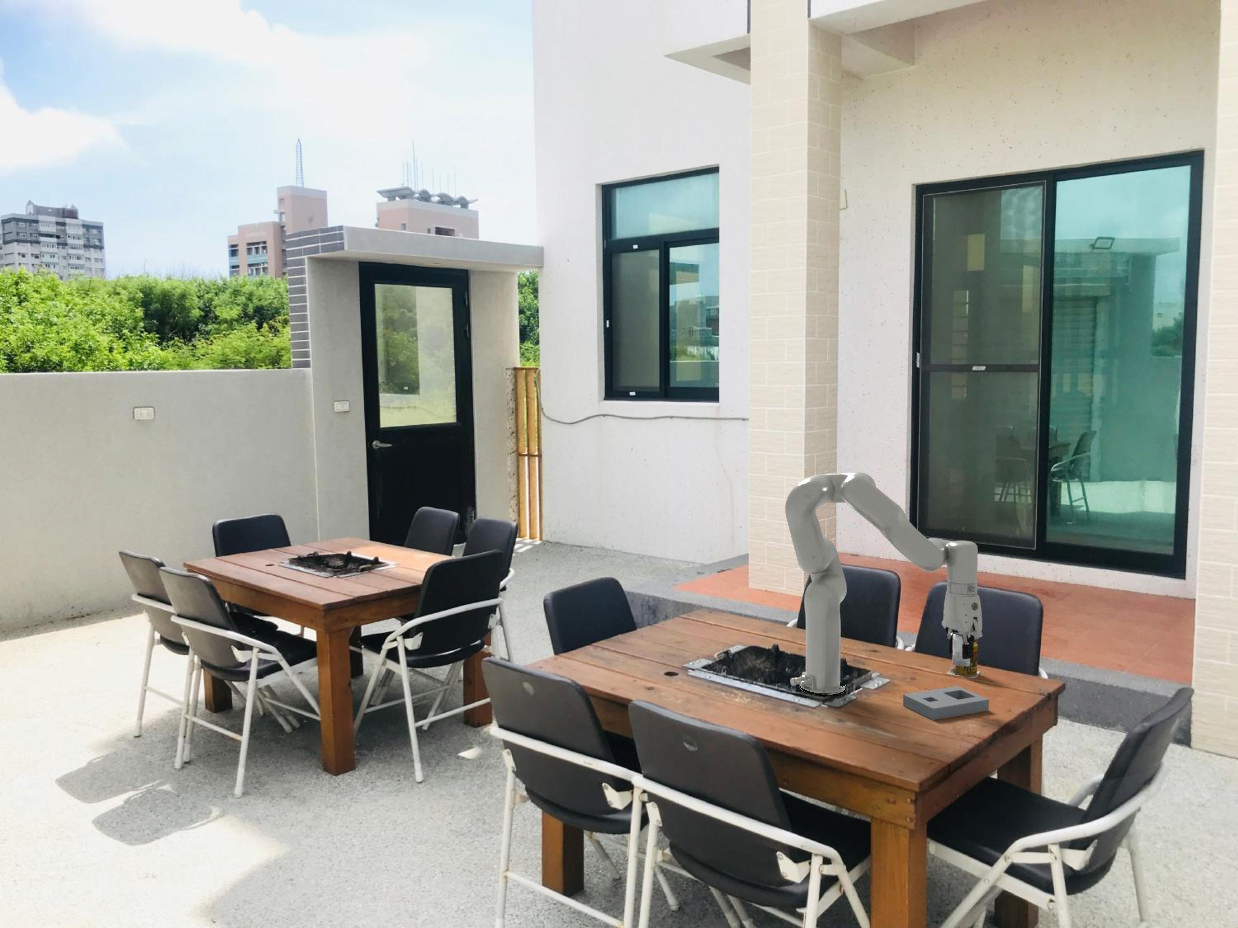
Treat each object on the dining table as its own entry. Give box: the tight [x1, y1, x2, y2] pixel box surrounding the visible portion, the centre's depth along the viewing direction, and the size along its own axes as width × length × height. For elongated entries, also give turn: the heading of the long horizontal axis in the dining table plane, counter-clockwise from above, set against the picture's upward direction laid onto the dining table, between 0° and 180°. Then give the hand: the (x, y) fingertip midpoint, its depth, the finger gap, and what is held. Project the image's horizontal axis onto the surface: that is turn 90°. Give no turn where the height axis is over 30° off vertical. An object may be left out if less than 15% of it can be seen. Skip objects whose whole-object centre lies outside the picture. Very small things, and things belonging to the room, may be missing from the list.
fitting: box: [951, 631, 970, 666], centre depth 257 cm, size 4×4×8 cm
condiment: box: [945, 640, 981, 679], centre depth 285 cm, size 7×8×12 cm
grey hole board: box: [902, 685, 990, 721], centre depth 256 cm, size 18×12×3 cm, turn 112°
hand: (961, 655), depth 257 cm, fingers closed on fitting, 4 cm apart
